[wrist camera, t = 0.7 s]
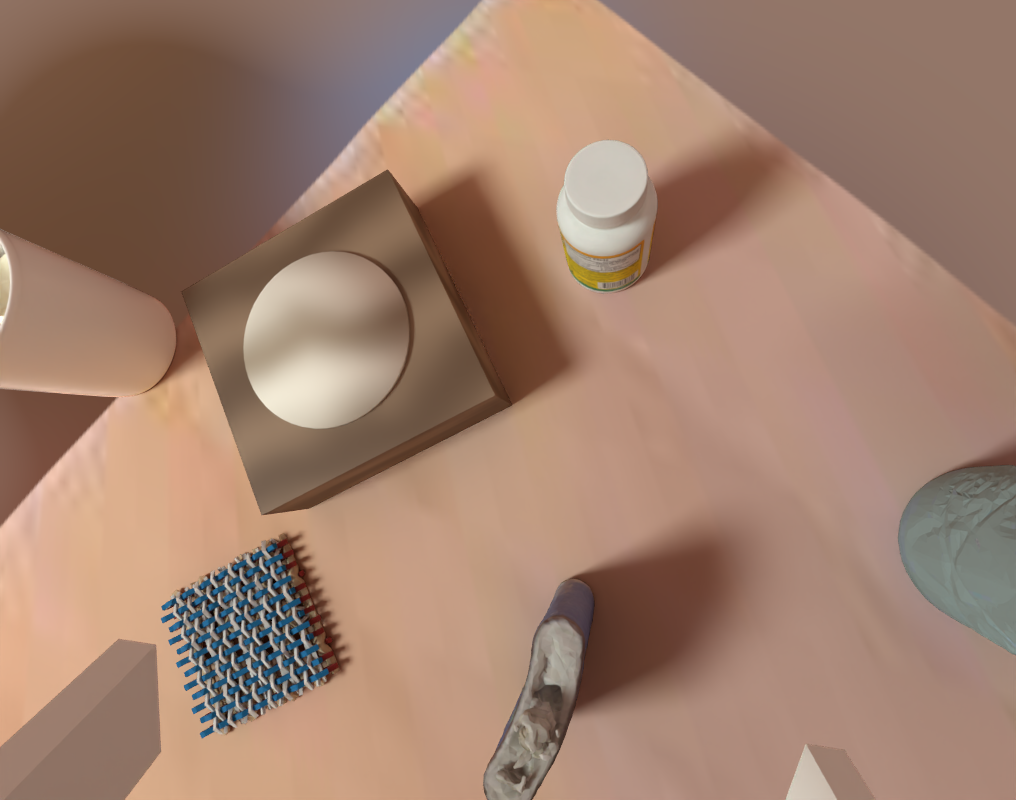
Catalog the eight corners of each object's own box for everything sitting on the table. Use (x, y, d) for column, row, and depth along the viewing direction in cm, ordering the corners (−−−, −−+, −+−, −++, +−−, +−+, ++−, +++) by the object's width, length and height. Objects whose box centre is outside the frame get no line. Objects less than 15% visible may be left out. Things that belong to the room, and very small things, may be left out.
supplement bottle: (619, 310, 34) (621, 252, 25) (551, 269, 35) (527, 200, 26) (666, 240, 34) (685, 156, 25) (596, 202, 35) (589, 108, 26)
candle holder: (61, 377, 42) (-149, 344, 31) (115, 267, 43) (-73, 192, 31) (150, 428, 40) (-40, 412, 28) (206, 311, 40) (40, 249, 29)
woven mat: (352, 670, 35) (336, 682, 33) (224, 734, 37) (202, 750, 35) (293, 527, 37) (275, 530, 35) (174, 592, 39) (151, 599, 37)
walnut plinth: (512, 405, 35) (493, 394, 30) (308, 508, 37) (258, 515, 32) (417, 207, 38) (385, 166, 33) (234, 312, 40) (177, 290, 35)
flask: (562, 570, 33) (537, 620, 22) (608, 589, 32) (604, 650, 22) (511, 713, 32) (461, 831, 22) (555, 735, 32) (526, 869, 21)
